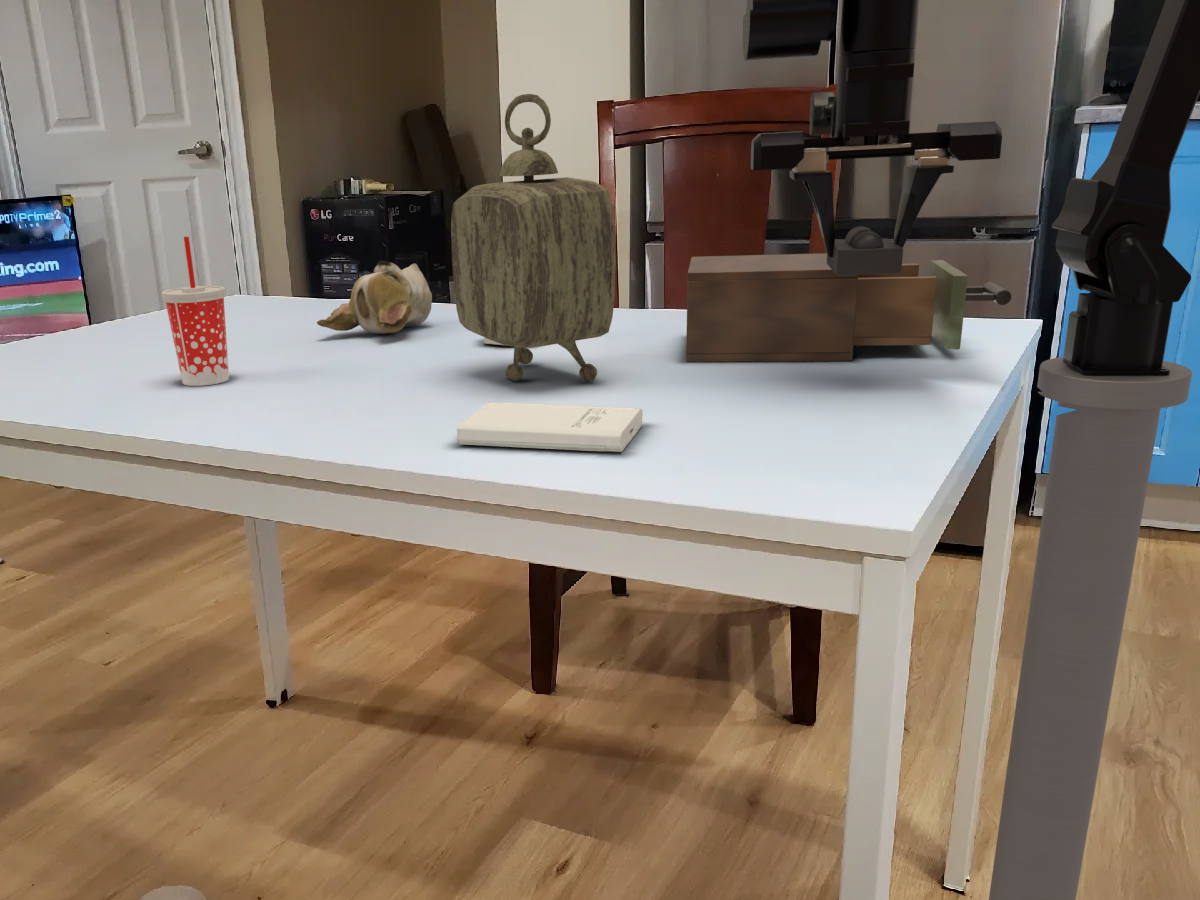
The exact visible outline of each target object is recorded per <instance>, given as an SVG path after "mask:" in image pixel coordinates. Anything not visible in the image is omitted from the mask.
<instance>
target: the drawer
mask: <svg viewBox="0 0 1200 900" xmlns="http://www.w3.org/2000/svg"><path fill="white" fill-rule="evenodd" d="M919 271H920V264H919V263H902V270H901V273H896V274H862V275H858V286H857V300H856V314H855V328H854V342H853V347H854V346H855V347H856V346H857V347H859V346H860V347H861V346H862V347H864V346H931V344H932V336H933V337H934V339H936V340H937V341H938V342H939V343H940V345H942V346H943V348H945V349H946V350H961V344H962V334H963V326H964V325H963V324H964V315H965V306H966V302H995V303H996V304H998V306H999V305H1000V306H1005V305H1008V304H1009V303H1010V302H1011V300H1012V293H1011V292H1010V291H1009V290H1008V289H1006V288H1004V287H1002V286H1000V285H998V284H997V283H995V282H993V281H987V282H985V283H984V284H983V285H980V286H978V285H977V286H976V285H975V286H968V278H969V277H968V275H967V274H966V273H964V272H963V271H961V270H959V269H958V268H956V267H955V266H953V265H951V264H950V263H948V262H947V261H945V260H943V259H939V260H938V259H936V260H935V259H933V260H932V259H931V260H930V266H929V274H928V275H929V276H919V274H920V273H919Z"/></svg>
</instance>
